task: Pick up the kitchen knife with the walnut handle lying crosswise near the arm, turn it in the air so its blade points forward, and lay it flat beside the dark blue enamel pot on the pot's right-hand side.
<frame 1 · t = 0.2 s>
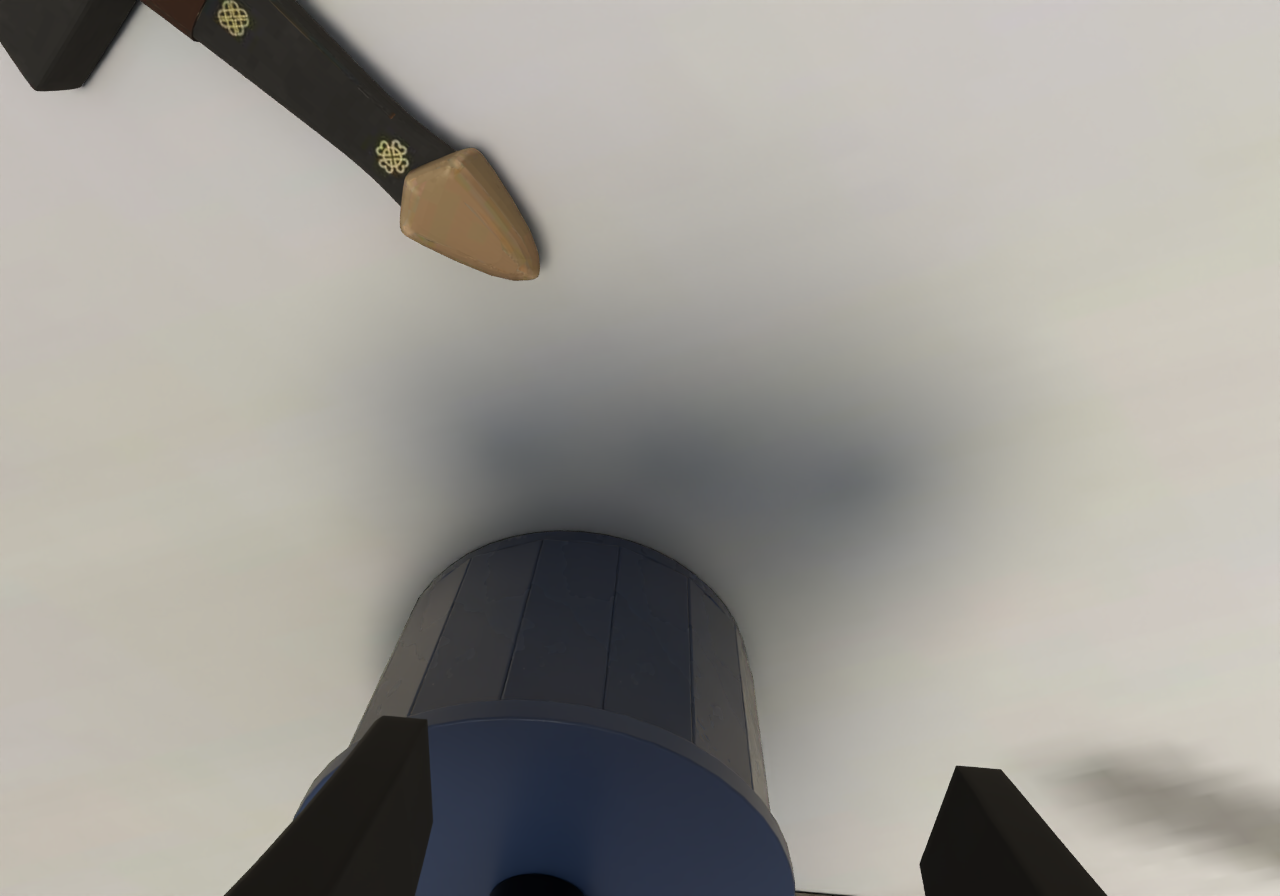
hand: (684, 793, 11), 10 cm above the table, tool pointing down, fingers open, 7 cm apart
pot lid: (542, 883, 17), point 6 cm above the table, touching pot
pot: (575, 675, 23), on the table
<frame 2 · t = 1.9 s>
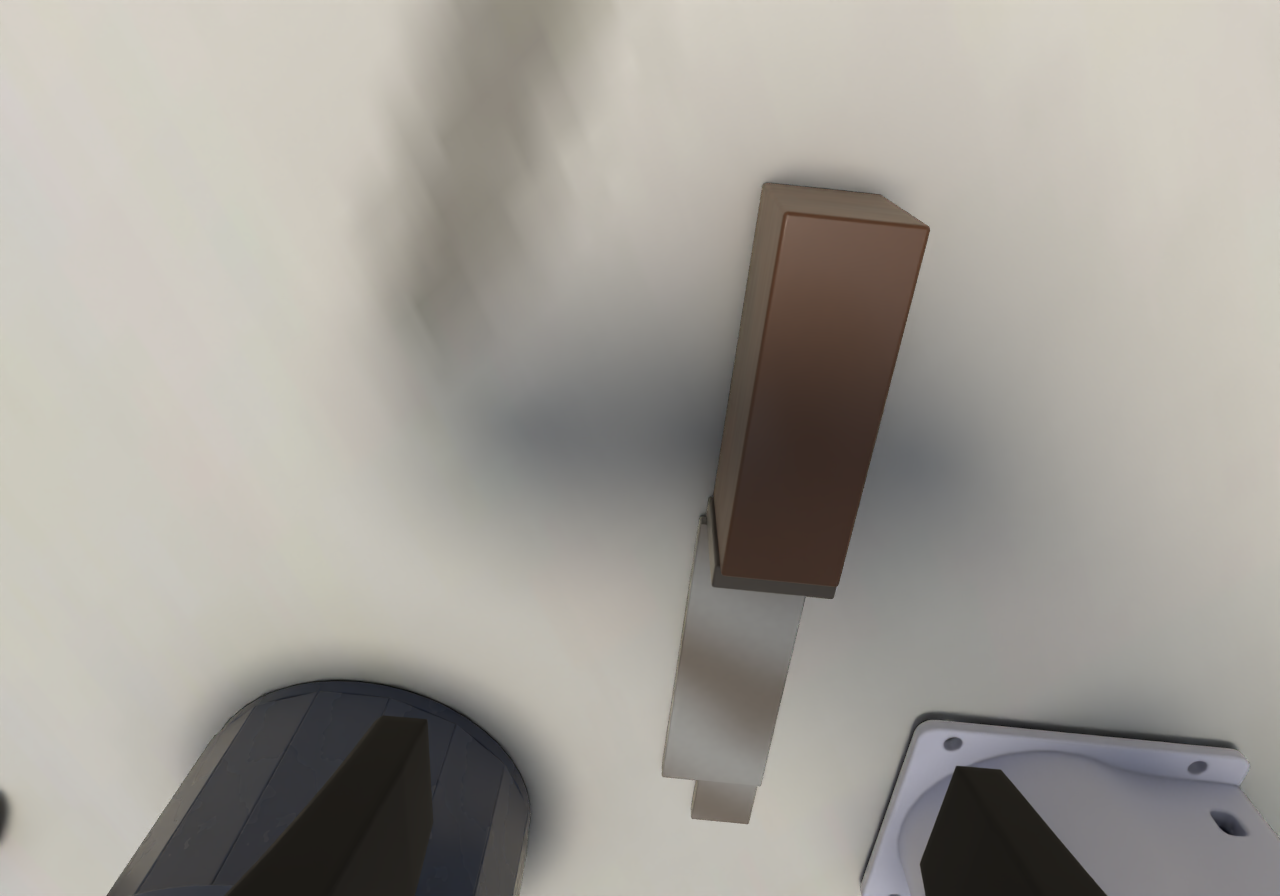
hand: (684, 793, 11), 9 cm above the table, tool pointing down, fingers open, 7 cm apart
knife: (754, 544, 20), on the table
pot: (371, 801, 25), on the table
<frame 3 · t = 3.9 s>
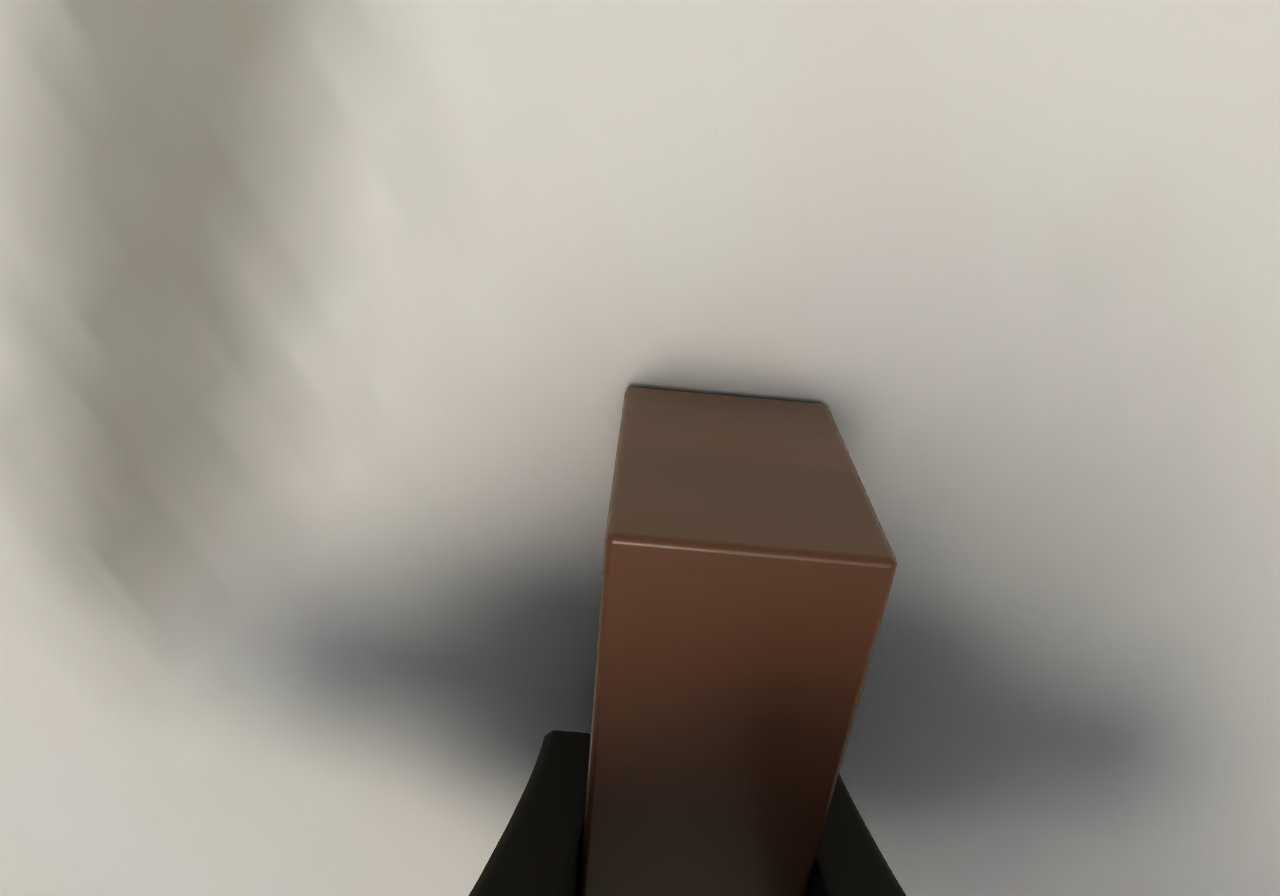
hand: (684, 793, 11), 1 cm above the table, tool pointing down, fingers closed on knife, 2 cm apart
knife: (660, 860, 14), on the table, touching gripper
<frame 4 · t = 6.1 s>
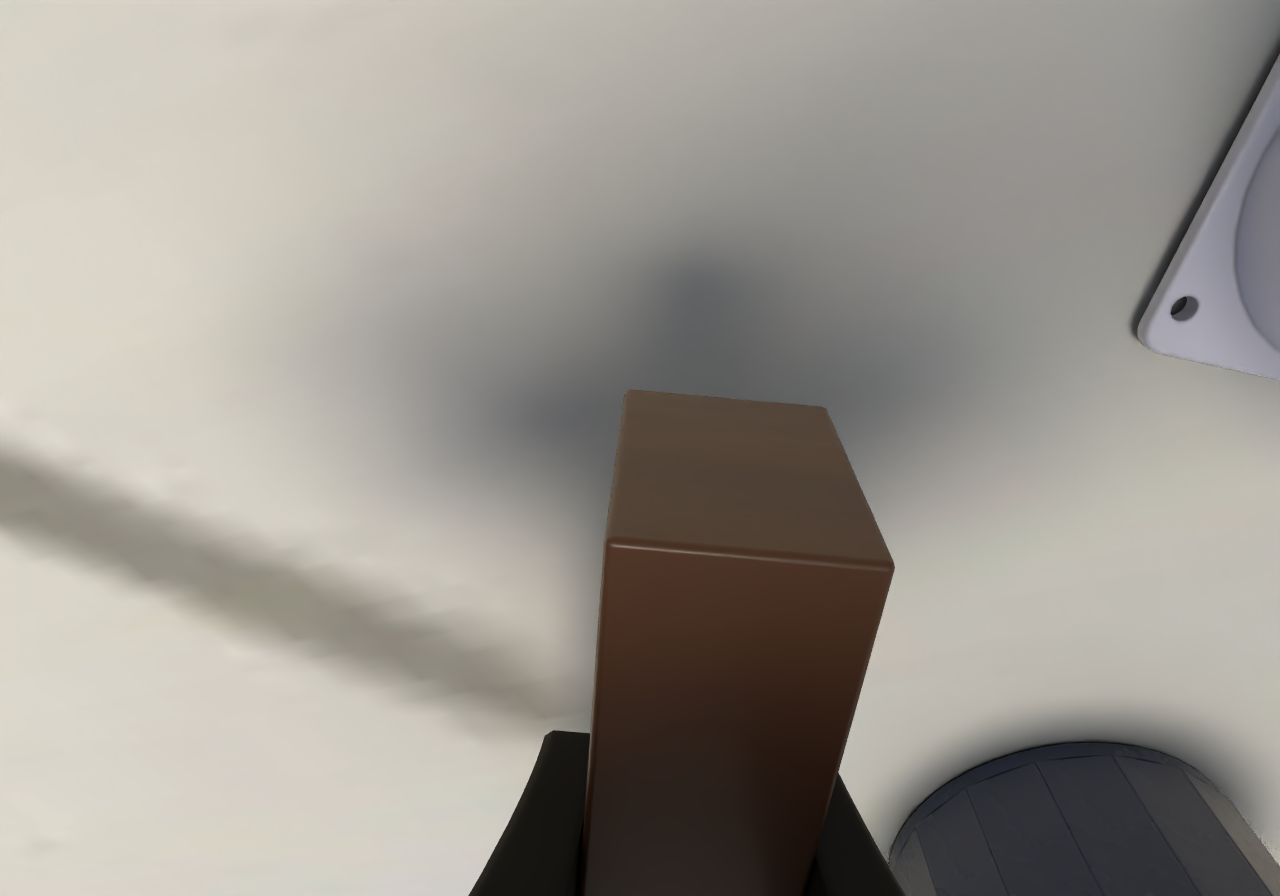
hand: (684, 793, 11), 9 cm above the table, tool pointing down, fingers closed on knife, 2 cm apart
knife: (660, 861, 14), point 7 cm above the table, touching gripper
pot: (1055, 860, 24), on the table
when the fingers open (1 cm above the table, at t = 8.4 s): knife stays where it is, on the table.
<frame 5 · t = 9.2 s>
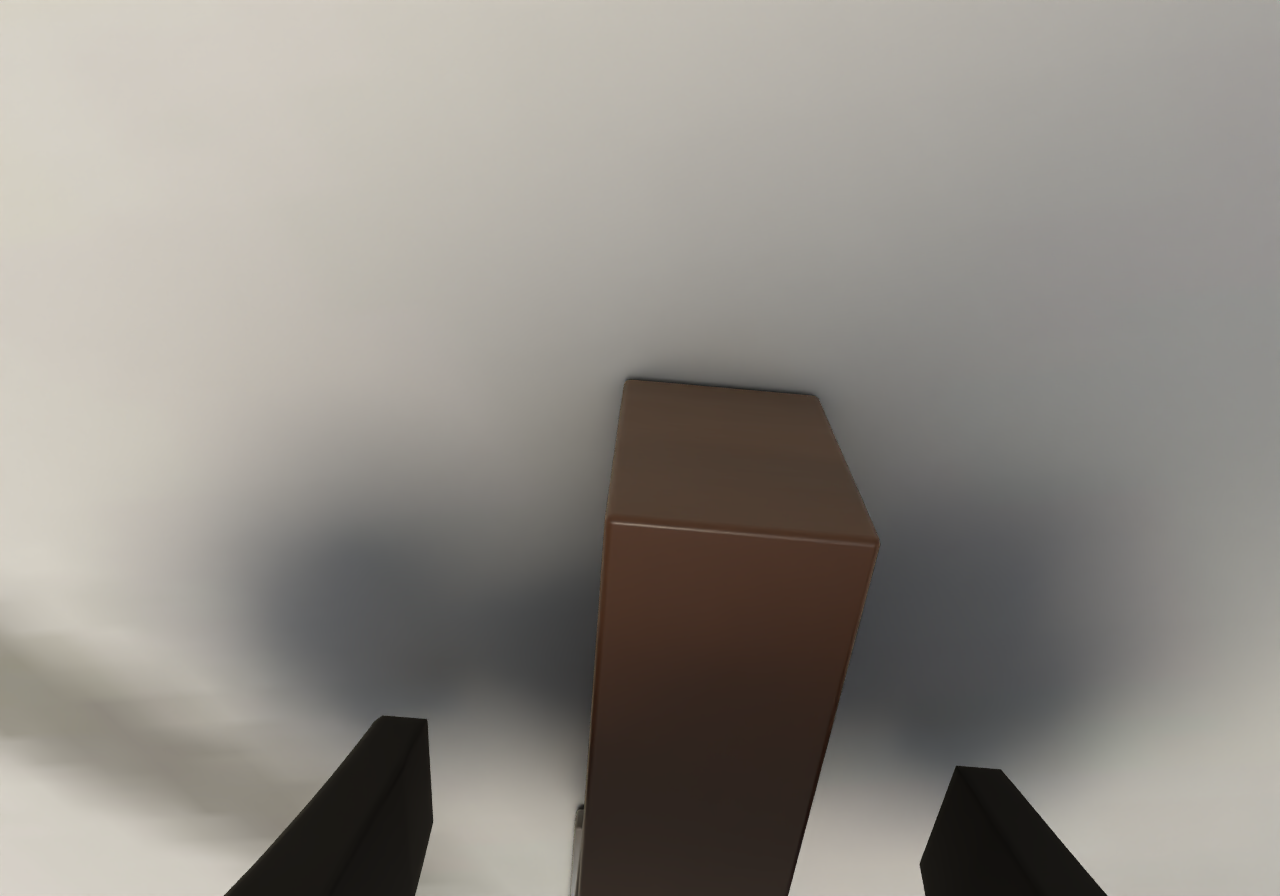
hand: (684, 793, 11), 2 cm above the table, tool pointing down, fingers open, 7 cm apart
knife: (658, 841, 14), on the table
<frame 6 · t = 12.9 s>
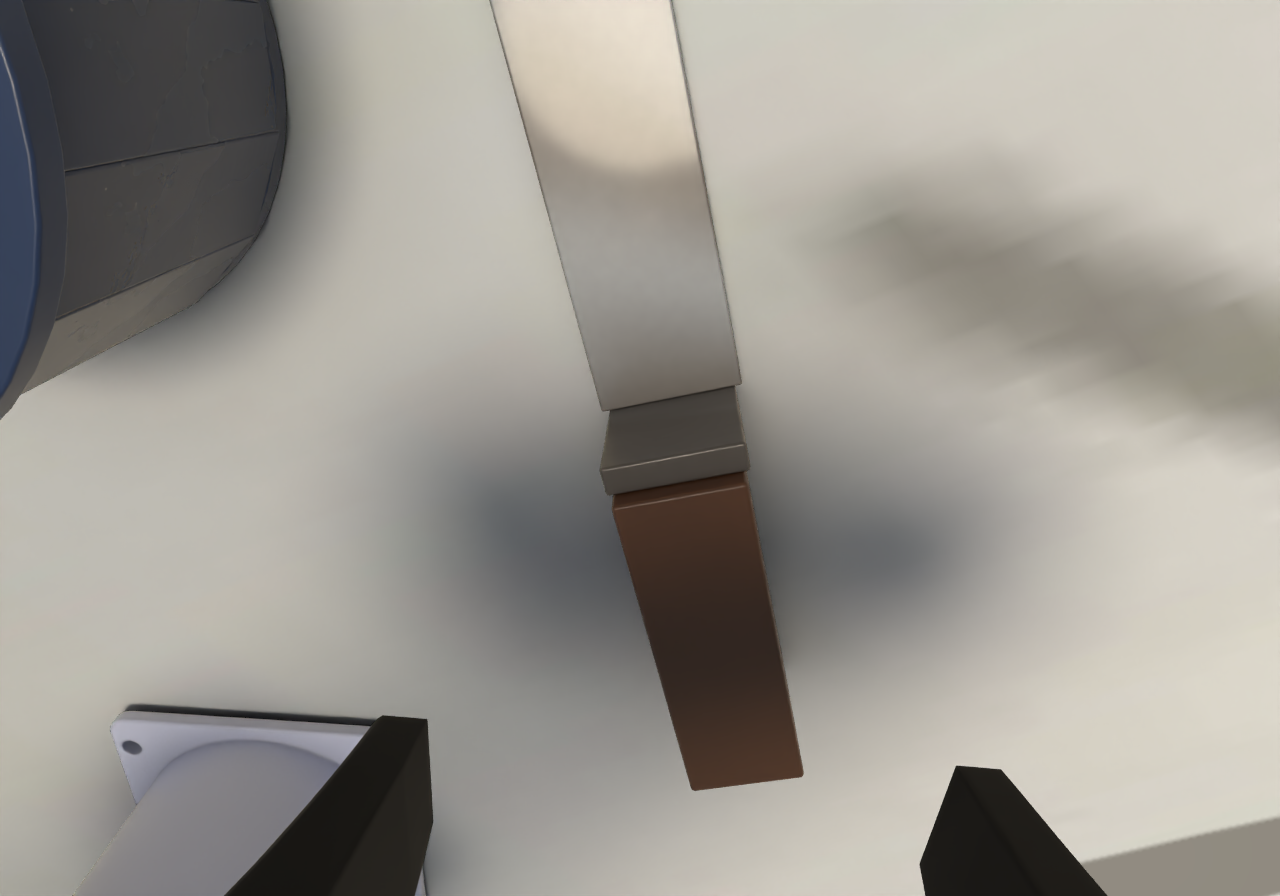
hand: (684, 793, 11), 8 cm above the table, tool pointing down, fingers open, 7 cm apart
knife: (664, 361, 16), on the table
pot: (5, 53, 14), on the table
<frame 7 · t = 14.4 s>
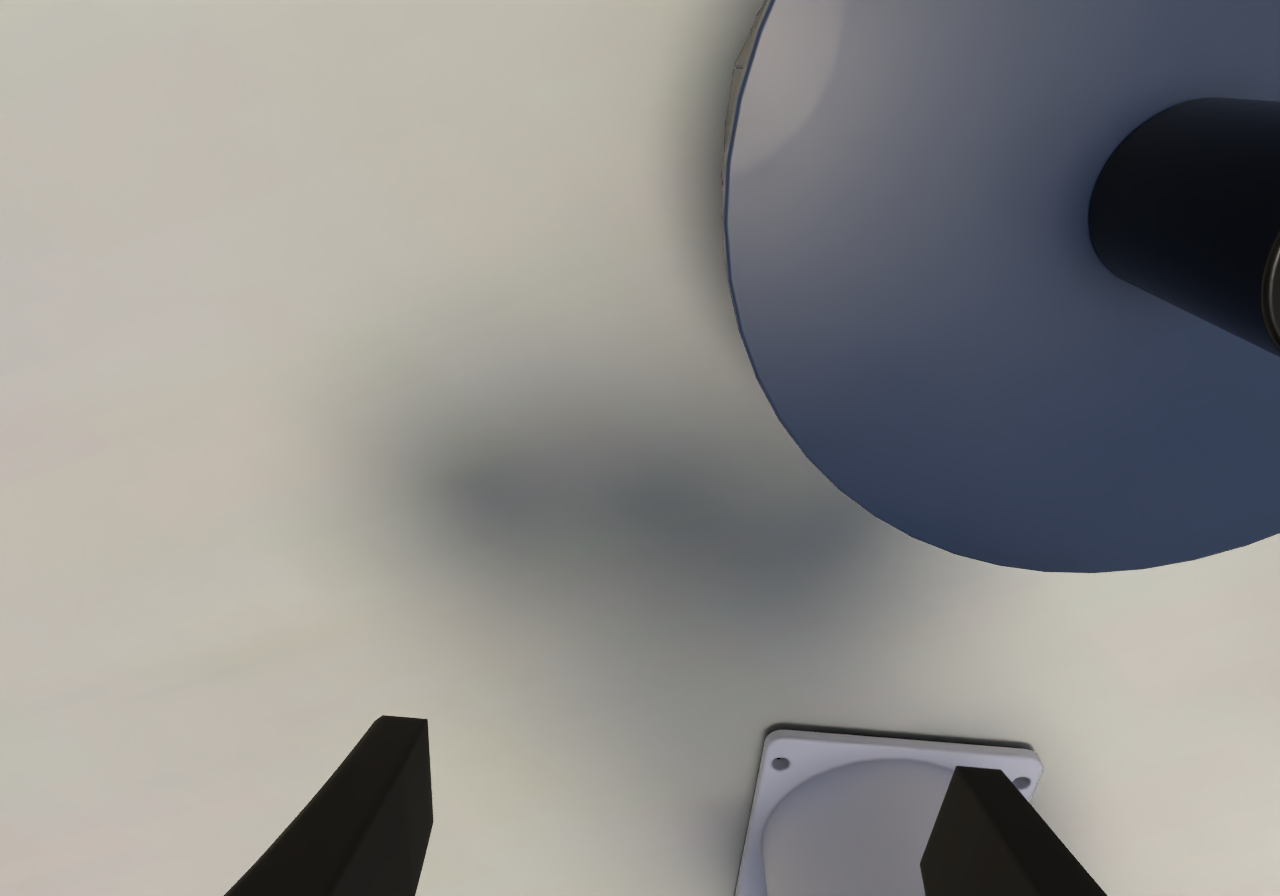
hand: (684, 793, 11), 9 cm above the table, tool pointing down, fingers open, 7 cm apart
pot lid: (1160, 191, 10), point 6 cm above the table, touching pot
pot: (979, 142, 16), on the table
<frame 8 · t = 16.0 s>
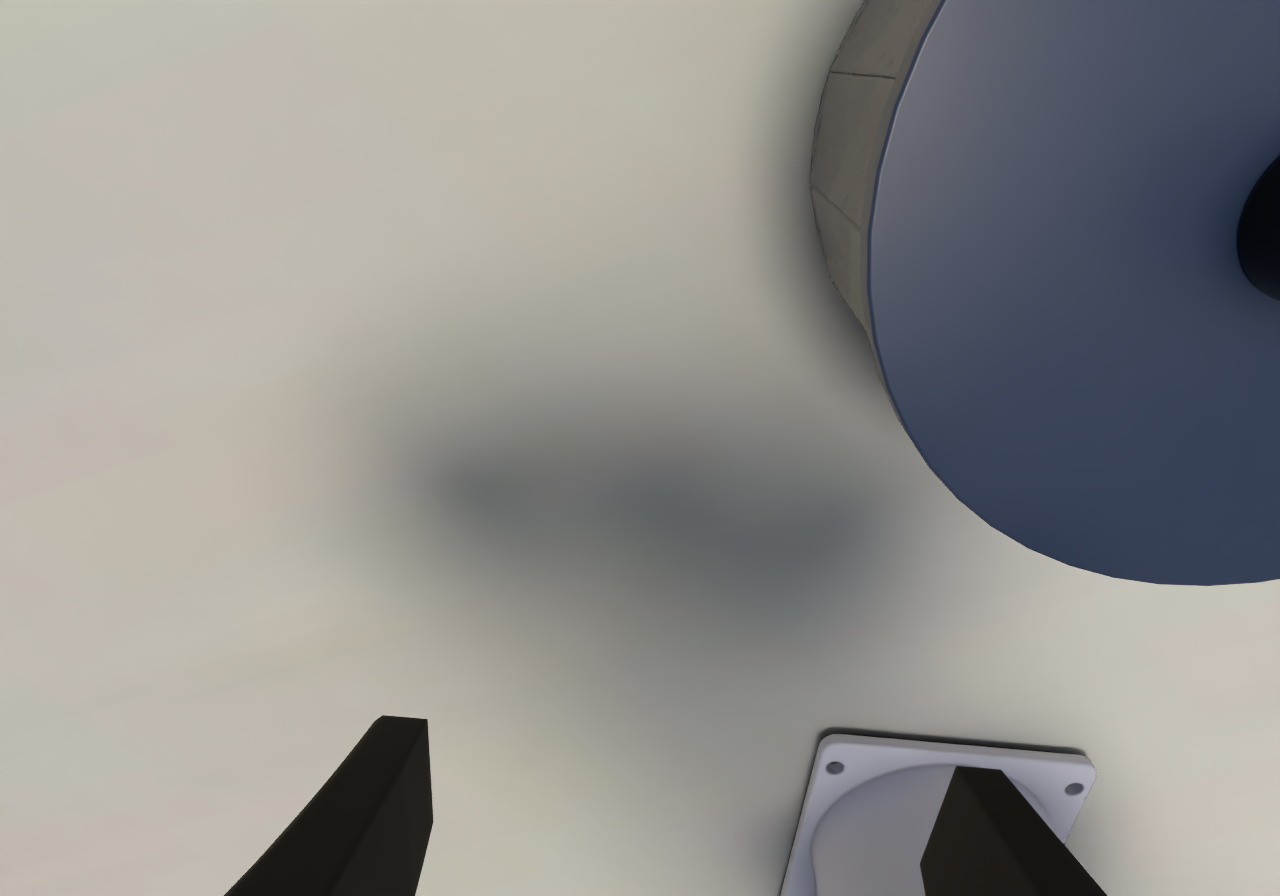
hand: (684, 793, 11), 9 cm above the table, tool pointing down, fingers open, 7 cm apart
pot: (1068, 150, 16), on the table
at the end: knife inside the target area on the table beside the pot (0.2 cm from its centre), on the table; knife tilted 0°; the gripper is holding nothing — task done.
